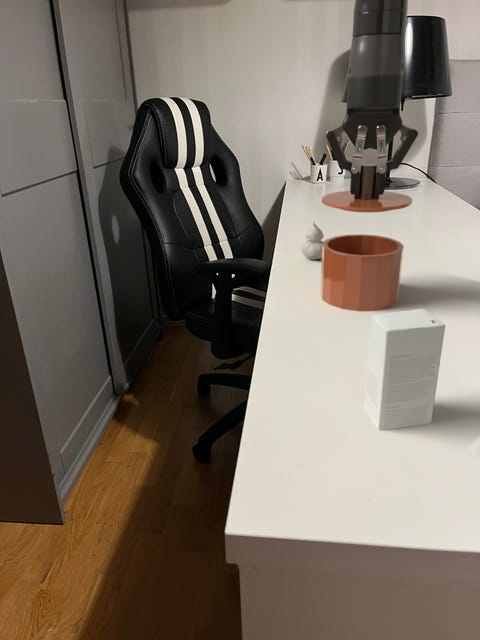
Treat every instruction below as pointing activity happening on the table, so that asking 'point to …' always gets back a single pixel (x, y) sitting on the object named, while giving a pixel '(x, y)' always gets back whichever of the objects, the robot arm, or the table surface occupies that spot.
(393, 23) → the robot arm
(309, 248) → the white lumpy pointed piece
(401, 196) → the jar lid
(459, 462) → the table surface
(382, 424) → the cosmetic box
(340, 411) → the table surface
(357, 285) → the jar
